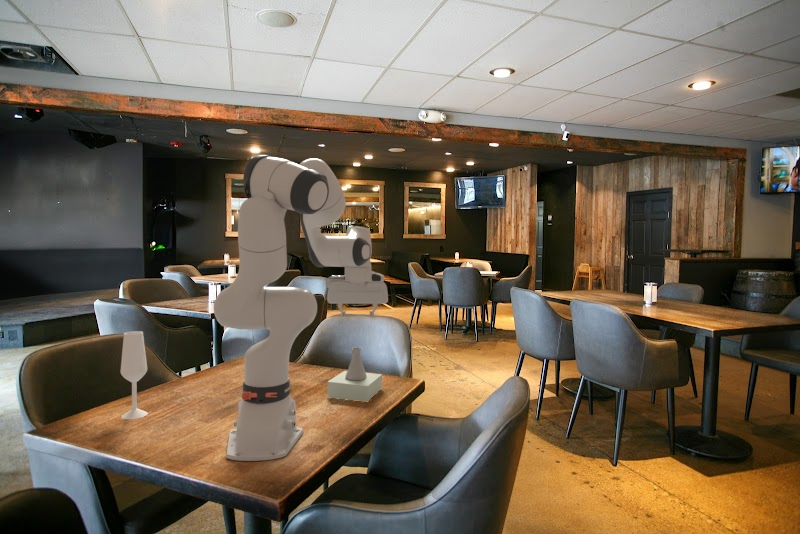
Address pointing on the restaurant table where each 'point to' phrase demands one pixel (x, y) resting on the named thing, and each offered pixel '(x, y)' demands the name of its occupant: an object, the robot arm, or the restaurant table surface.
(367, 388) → the sage block
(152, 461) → the restaurant table surface
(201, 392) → the restaurant table surface
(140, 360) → the champagne flute
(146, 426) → the restaurant table surface
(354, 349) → the flask
